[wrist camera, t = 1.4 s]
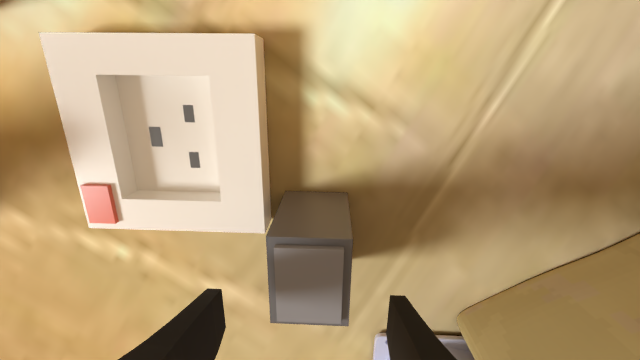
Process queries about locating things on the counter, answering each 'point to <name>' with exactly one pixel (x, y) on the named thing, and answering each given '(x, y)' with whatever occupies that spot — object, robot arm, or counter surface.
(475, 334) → the tan rectangular block
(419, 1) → the counter surface
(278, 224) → the plug
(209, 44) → the socket plate
